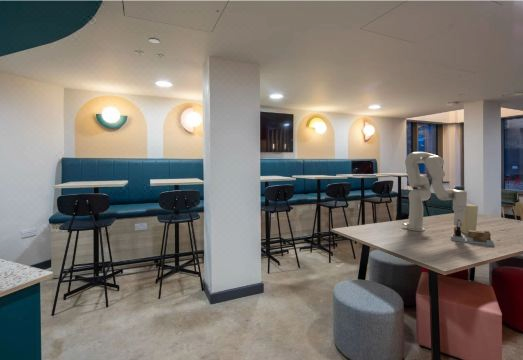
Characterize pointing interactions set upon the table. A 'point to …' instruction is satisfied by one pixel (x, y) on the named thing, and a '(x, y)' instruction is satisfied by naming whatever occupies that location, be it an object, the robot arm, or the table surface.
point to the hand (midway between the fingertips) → (457, 234)
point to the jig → (471, 240)
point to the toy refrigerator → (469, 218)
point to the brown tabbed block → (479, 235)
